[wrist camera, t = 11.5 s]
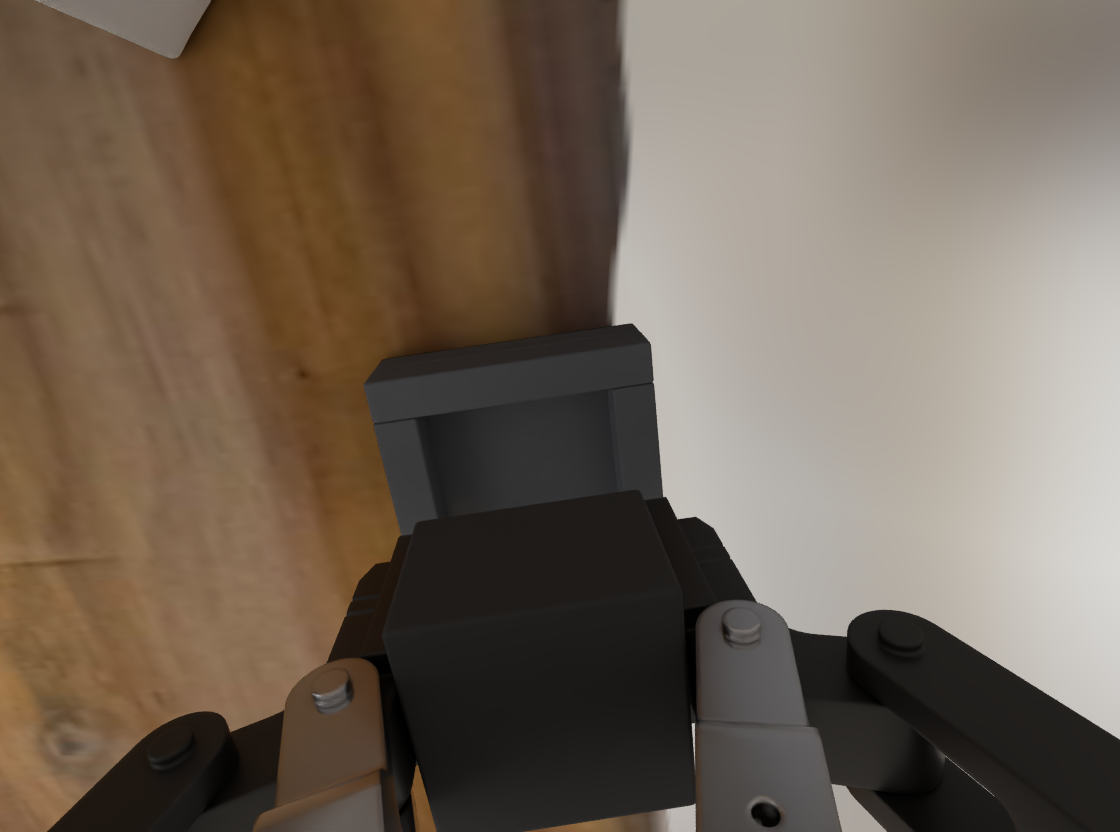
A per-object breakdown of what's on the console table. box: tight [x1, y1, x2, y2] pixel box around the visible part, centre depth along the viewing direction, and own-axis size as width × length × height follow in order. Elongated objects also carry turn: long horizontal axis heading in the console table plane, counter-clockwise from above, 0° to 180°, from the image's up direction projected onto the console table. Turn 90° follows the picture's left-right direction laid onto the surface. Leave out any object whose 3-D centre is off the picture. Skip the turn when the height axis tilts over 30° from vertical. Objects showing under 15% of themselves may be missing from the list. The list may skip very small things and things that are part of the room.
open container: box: [364, 324, 663, 536], centre depth 16 cm, size 7×7×2 cm
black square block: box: [382, 489, 696, 832], centre depth 10 cm, size 4×4×3 cm
